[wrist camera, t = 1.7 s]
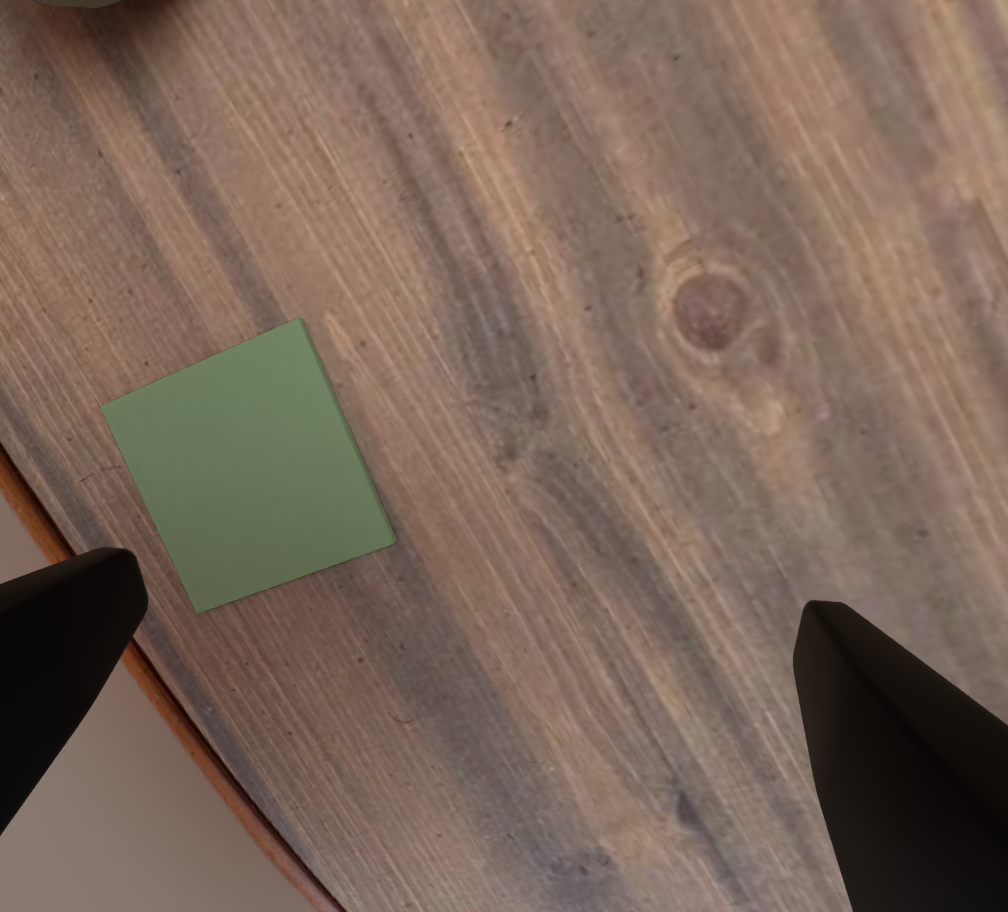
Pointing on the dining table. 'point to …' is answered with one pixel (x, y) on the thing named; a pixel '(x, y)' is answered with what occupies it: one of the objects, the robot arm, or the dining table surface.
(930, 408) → the dining table surface
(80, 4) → the ceramic sculpture
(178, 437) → the coaster
